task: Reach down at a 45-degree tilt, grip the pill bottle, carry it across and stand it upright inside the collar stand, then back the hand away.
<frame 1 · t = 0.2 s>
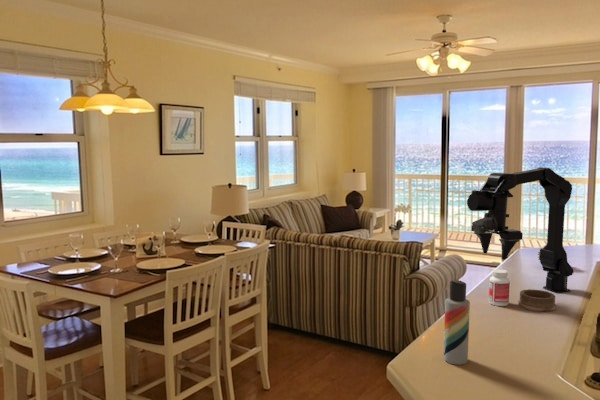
hand: (494, 256, 168), 15 cm above the worktop, tool pointing down, fingers open, 9 cm apart
pill bottle: (498, 304, 164), on the worktop
lotion bottle: (455, 360, 122), on the worktop
pine cone: (549, 265, 214), on the worktop
collar stand: (536, 306, 161), on the worktop
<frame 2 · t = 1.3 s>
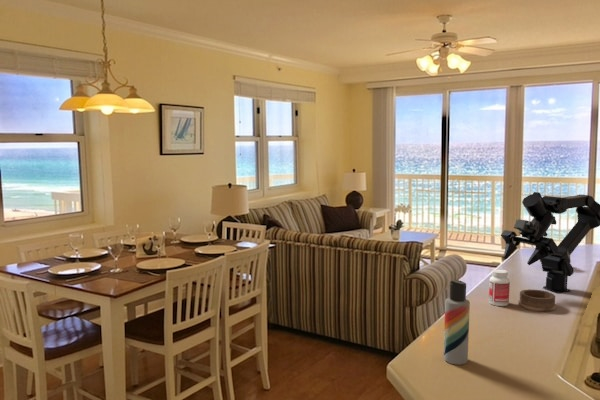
hand: (516, 261, 166), 13 cm above the worktop, tool tilted 45°, fingers open, 9 cm apart
nothing on the worktop moved.
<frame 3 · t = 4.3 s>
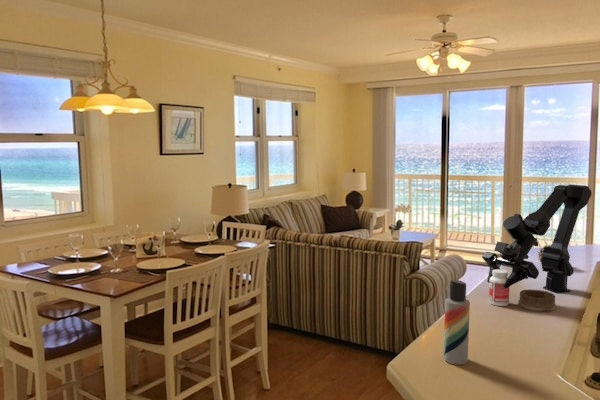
hand: (496, 284, 163), 7 cm above the worktop, tool tilted 45°, fingers closed on pill bottle, 6 cm apart
pill bottle: (498, 304, 164), on the worktop, touching gripper
everything else where it was.
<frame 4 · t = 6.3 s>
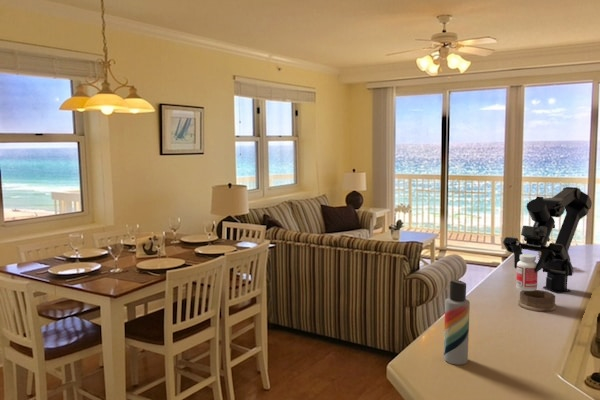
hand: (525, 269, 160), 12 cm above the worktop, tool tilted 45°, fingers closed on pill bottle, 6 cm apart
pill bottle: (526, 289, 161), point 5 cm above the worktop, touching gripper
everything else where it was.
when the fingers open (9 cm above the worktop, at t = 8.4 s): pill bottle drops 1 cm, resting on collar stand.
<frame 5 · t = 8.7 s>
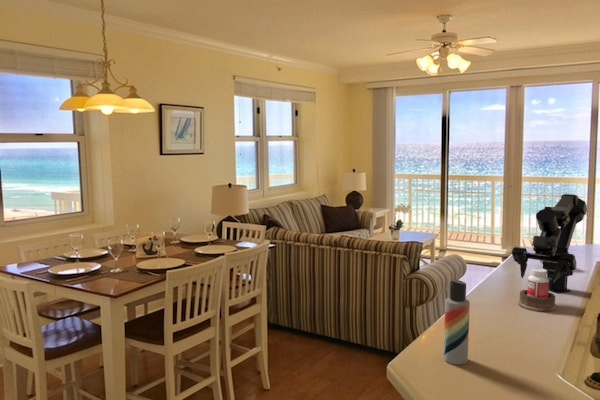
hand: (536, 279, 159), 9 cm above the worktop, tool tilted 45°, fingers open, 9 cm apart
pill bottle: (537, 303, 161), point 1 cm above the worktop, touching collar stand
everything else where it was.
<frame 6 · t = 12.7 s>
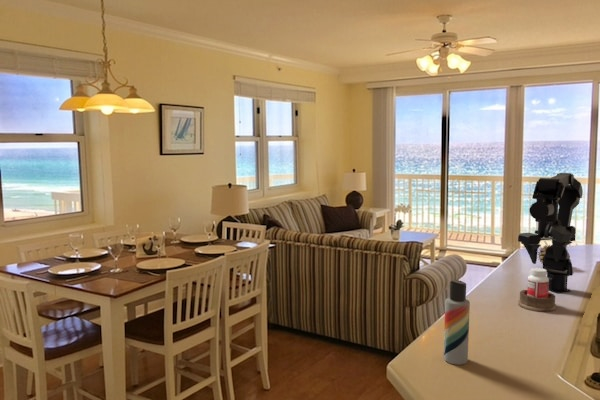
hand: (545, 262, 166), 13 cm above the worktop, tool pointing down, fingers open, 9 cm apart
nothing on the worktop moved.
at the end: pill bottle 0.2 cm from the collar stand (horizontally); pill bottle tilted 1°; the gripper is holding nothing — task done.
